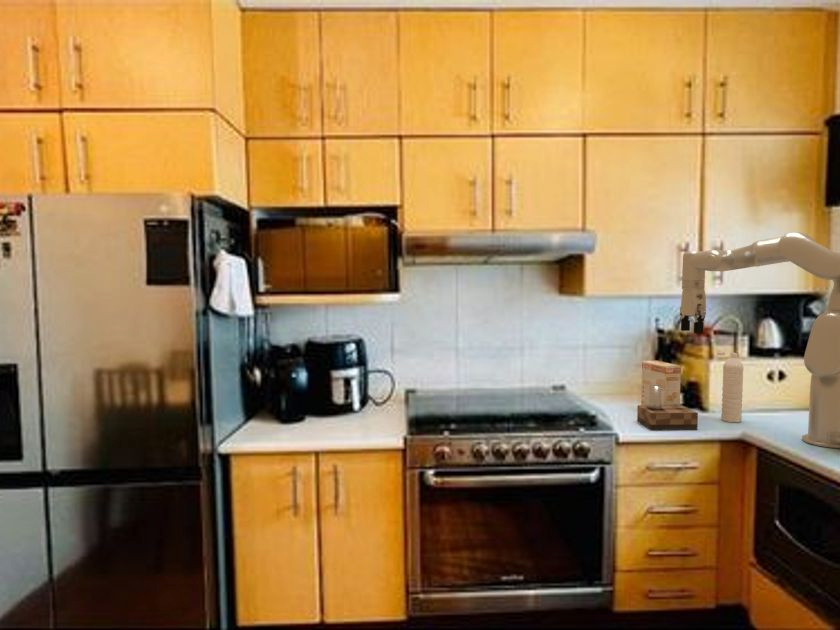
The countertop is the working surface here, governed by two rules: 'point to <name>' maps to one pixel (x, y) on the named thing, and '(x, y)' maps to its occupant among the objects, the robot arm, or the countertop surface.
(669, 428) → the walnut block
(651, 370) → the coffeecake box
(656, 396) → the steel pin
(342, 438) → the countertop surface
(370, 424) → the countertop surface
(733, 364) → the water bottle
